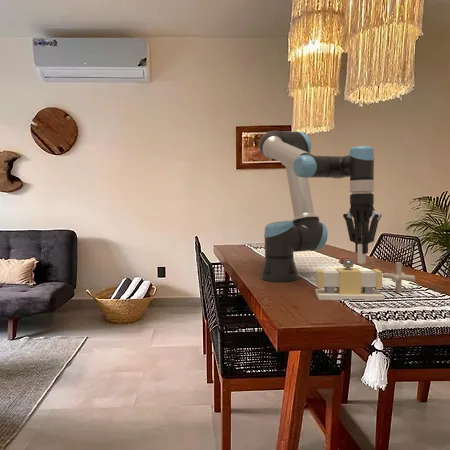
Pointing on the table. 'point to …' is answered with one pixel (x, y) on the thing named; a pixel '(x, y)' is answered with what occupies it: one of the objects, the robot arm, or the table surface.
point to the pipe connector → (398, 277)
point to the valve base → (349, 284)
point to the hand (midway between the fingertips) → (361, 263)
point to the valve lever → (345, 261)
